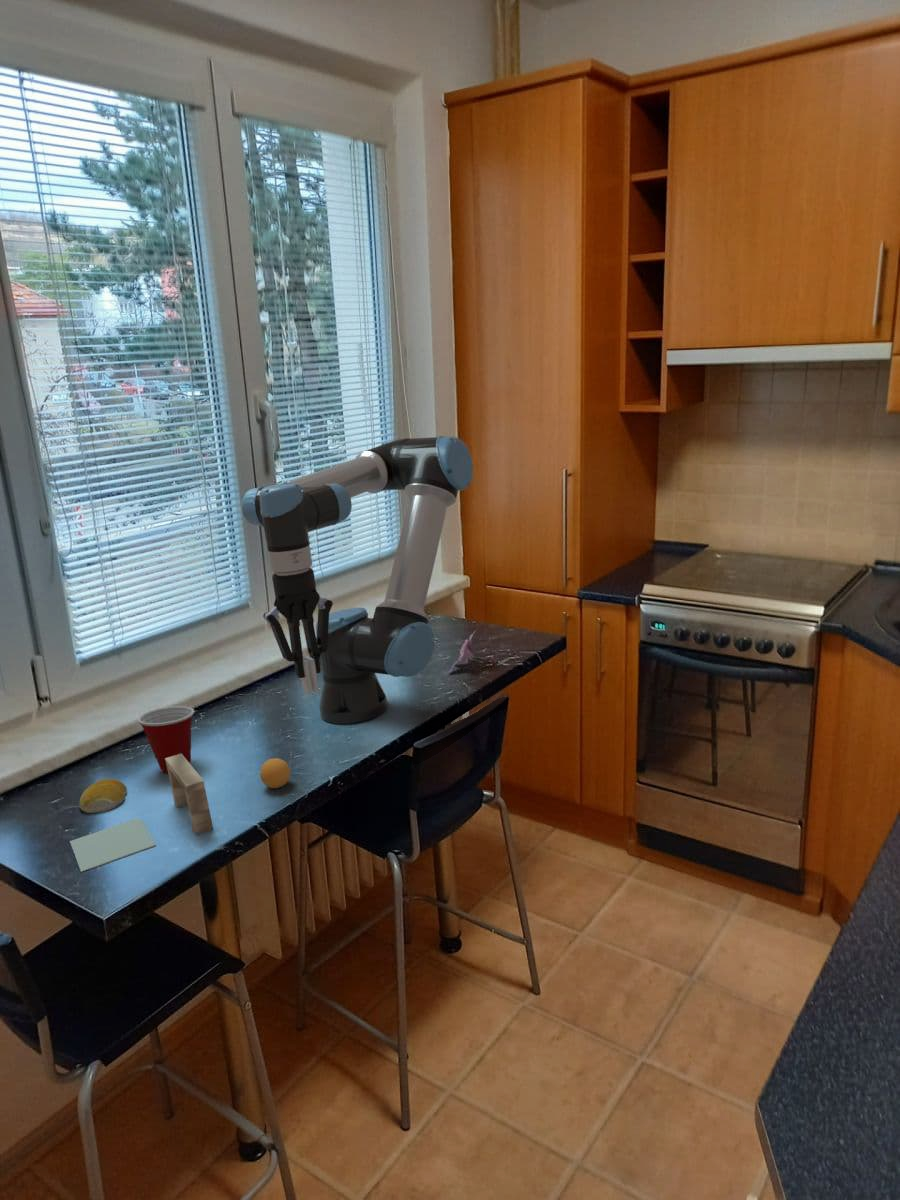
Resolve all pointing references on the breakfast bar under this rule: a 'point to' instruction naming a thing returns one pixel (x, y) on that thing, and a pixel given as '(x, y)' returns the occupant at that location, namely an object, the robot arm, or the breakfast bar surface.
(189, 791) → the bridge
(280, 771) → the ball
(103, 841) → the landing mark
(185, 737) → the plastic cup
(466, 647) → the lily
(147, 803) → the breakfast bar surface
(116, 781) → the yellow bowl
